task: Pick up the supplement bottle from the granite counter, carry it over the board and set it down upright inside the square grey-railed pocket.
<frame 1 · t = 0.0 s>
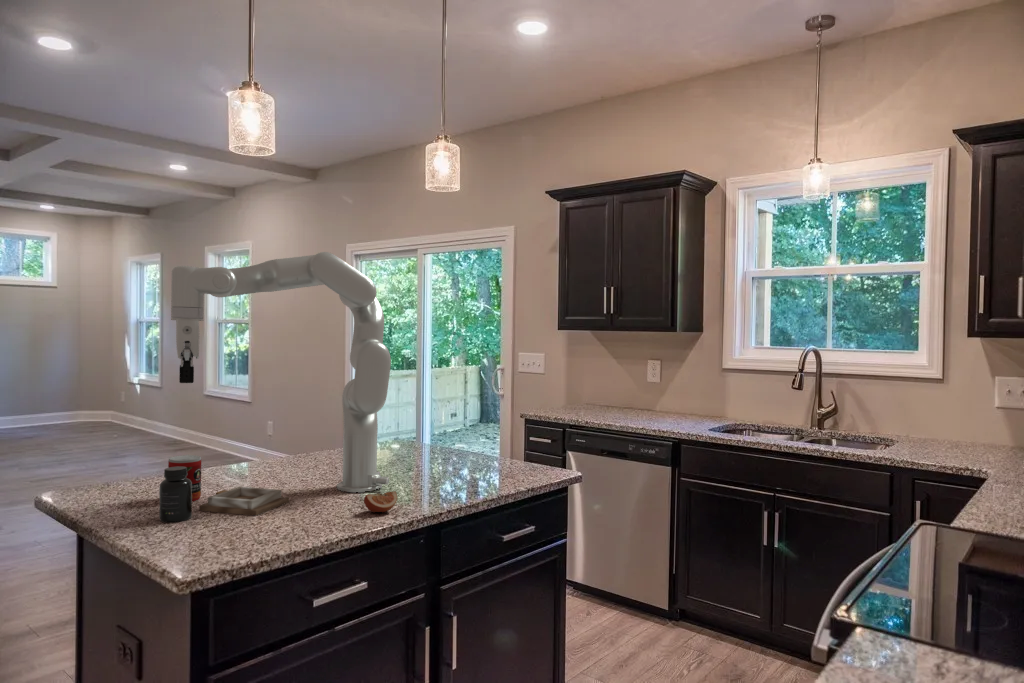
hand: (186, 381, 171), 31 cm above the counter, tool pointing down, fingers open, 9 cm apart
supplement bottle: (175, 519, 156), on the counter
fruit slice: (381, 513, 165), on the counter
canned food: (184, 500, 174), on the counter
pocket board: (245, 506, 169), on the counter
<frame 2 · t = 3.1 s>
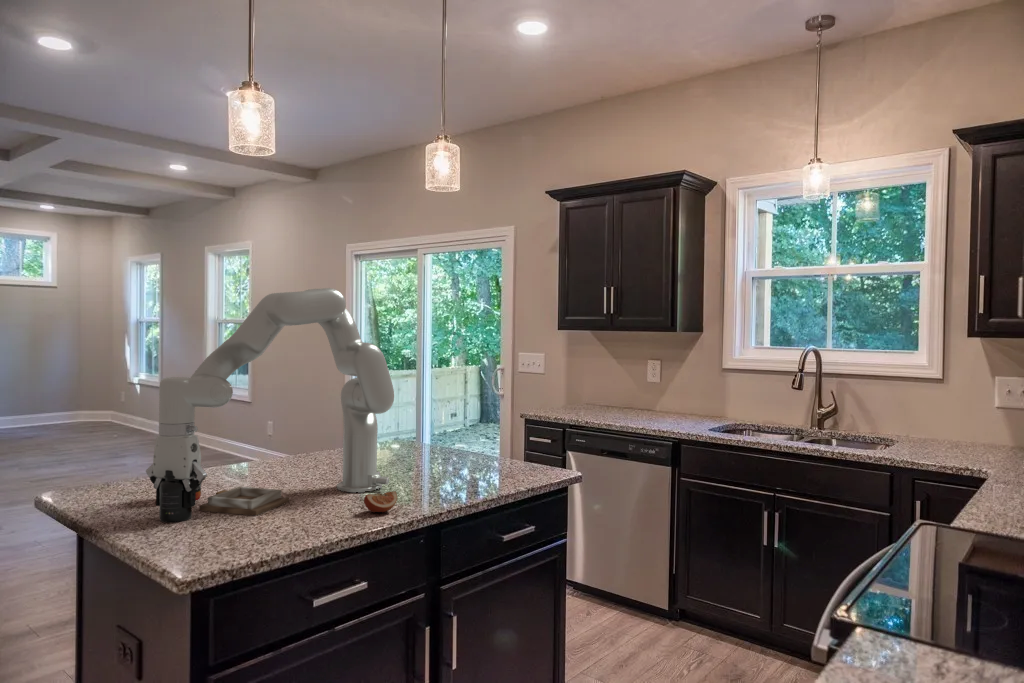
hand: (175, 505, 156), 3 cm above the counter, tool pointing down, fingers closed on supplement bottle, 6 cm apart
supplement bottle: (175, 519, 156), on the counter, touching gripper
everything else where it was.
when the fingers open (6 cm above the counter, at t = 9.0 s): supplement bottle drops 1 cm, resting on pocket board.
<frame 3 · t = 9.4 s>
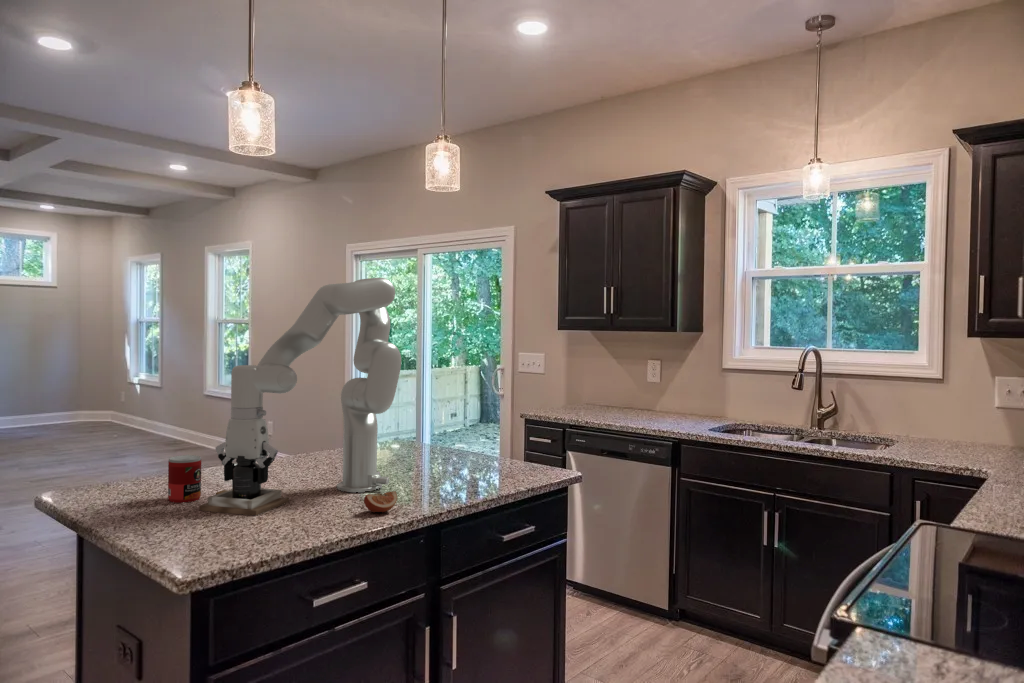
hand: (245, 481, 169), 6 cm above the counter, tool pointing down, fingers open, 9 cm apart
supplement bottle: (246, 501, 169), point 1 cm above the counter, touching pocket board
everything else where it was.
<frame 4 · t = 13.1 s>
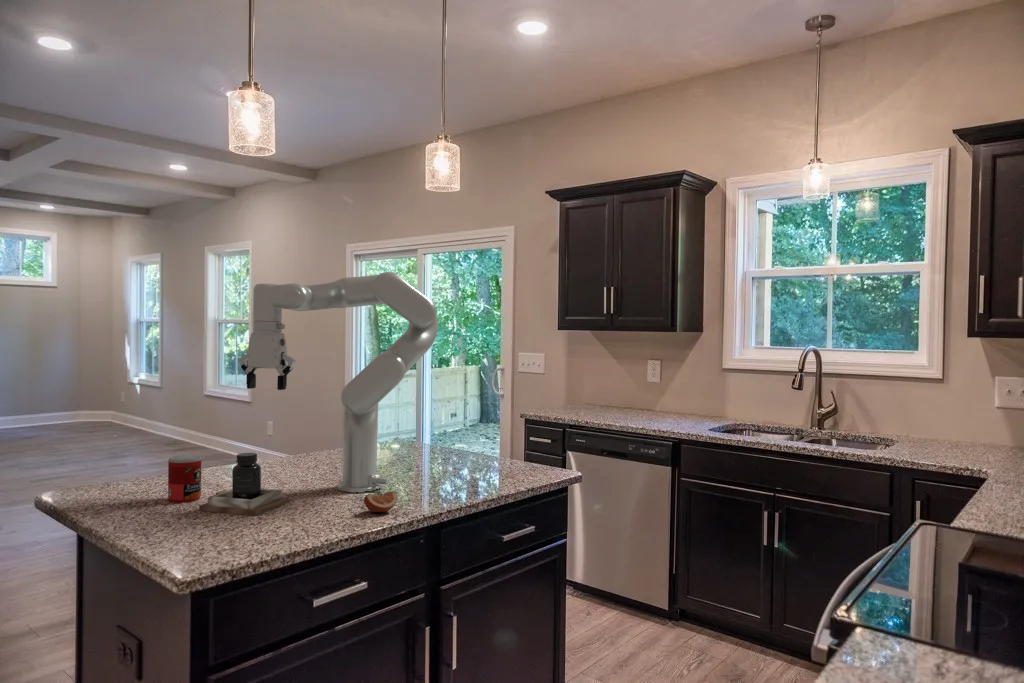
hand: (266, 389, 187), 28 cm above the counter, tool pointing down, fingers open, 9 cm apart
nothing on the counter moved.
at the end: supplement bottle 0.3 cm off-centre on the pocket board, point 1.0 cm above the pocket board's base; supplement bottle tilted 0°; the gripper is holding nothing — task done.
